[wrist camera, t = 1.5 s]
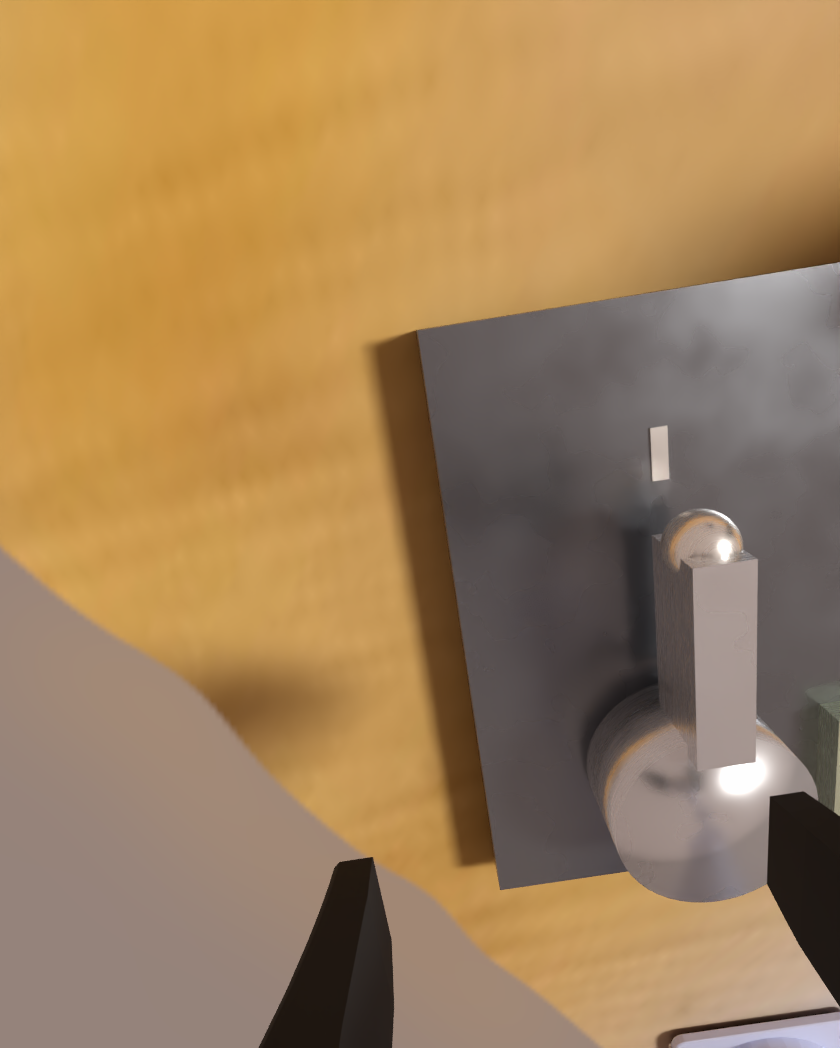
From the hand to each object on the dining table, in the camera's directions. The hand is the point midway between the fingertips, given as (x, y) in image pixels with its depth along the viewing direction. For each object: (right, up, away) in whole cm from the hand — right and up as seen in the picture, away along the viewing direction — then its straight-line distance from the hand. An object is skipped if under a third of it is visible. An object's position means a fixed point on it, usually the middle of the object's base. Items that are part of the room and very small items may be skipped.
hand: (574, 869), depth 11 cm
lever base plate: (+6, +4, +10) cm, 12 cm away
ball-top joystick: (+5, +1, +9) cm, 11 cm away
